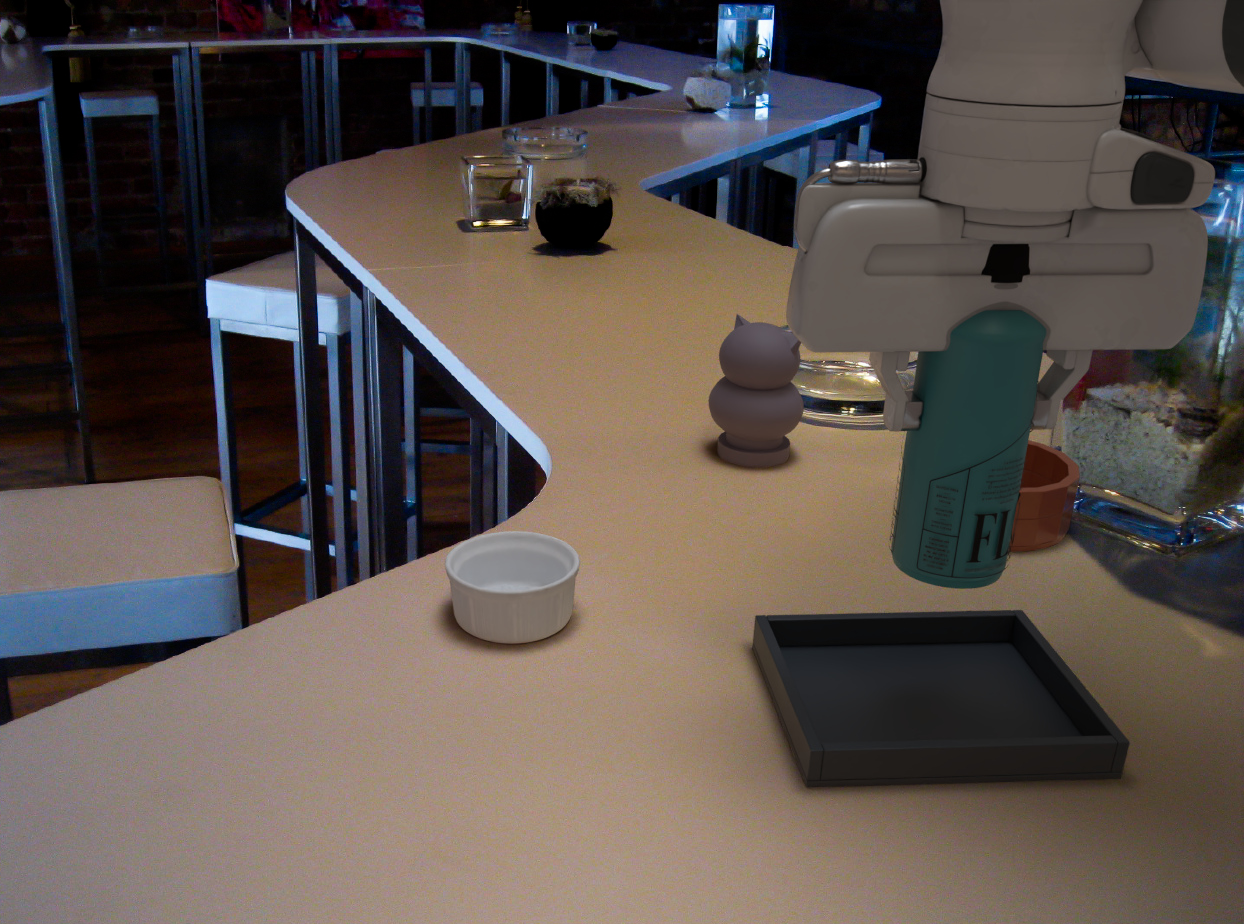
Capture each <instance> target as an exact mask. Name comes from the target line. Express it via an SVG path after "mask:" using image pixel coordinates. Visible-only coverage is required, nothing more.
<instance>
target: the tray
mask: <svg viewBox="0 0 1244 924" xmlns="http://www.w3.org/2000/svg"><path fill="white" fill-rule="evenodd" d="M751 649H752V652H753V654H754V657H755V659H756V662H757V664H758V667H759V669H760V672H761V675H762V677H763V679H764V682H765V685H766V687H767V691H768V692H769V695H770V697H771V700H772V703H773V705H774V708H775V711H776V714H777V716H778V718H779V720H780V723H781V726H782V729H783V732H784V734H785V736H786V738H787V741H788V744H789V746H790V749H791V752H792V755H793V757H794V760H795V762H796V765H797V767H798V769H799V772H800V775H801V777H802V780H803V782H804V785H805V787H806V788H807V789H811V788H843V787H845V788H850V787H882V786H883V787H885V786H917V785H919V786H921V785H950V784H951V785H952V784H953V785H955V784H985V783H991V784H992V783H1020V782H1023V783H1025V782H1026V783H1027V782H1056V781H1058V782H1059V781H1092V780H1093V781H1094V780H1121V779H1122V778H1123V777H1122V776H1123V772H1124V767H1125V764H1126V761H1127V756H1128V753H1129V752H1128V751H1129V748H1130V744H1131V742H1130V740H1129V739H1128V738H1127V736H1126V735H1125V734H1124V733H1123V732H1122V730H1121V729H1120V728H1119V727H1118V726H1117V725H1116V723H1115V722H1114V721H1113V719H1112V718H1111V717H1110V716H1109V714H1108V713H1107V712H1106V711H1105V709H1104V708H1103V707H1102V705H1100V703H1099V702H1098V701H1097V700H1096V698H1095V697H1094V696H1093V694H1091V693H1090V691H1089V690H1088V689H1087V687H1086V686H1085V685H1084V684H1083V683H1082V681H1081V680H1080V679H1079V678H1078V676H1077V675H1076V674H1075V673H1074V672H1073V671H1072V669H1071V668H1070V666H1068V664H1067V663H1066V662H1065V660H1064V659H1063V658H1062V657H1061V656H1060V654H1059V653H1058V651H1056V649H1055V648H1054V647H1053V646H1052V644H1050V642H1049V641H1048V639H1047V638H1046V637H1045V635H1044V634H1042V632H1041V631H1040V630H1039V629H1038V627H1037V626H1036V625H1035V624H1034V622H1033V621H1032V620H1031V619H1030V617H1028V615H1027V614H1026V613H1025V611H1024V610H1022V609H1012V610H1011V609H1001V610H1000V609H999V610H998V609H997V610H995V609H993V610H951V611H949V610H948V611H947V610H946V611H945V610H944V611H903V612H901V611H900V612H855V613H854V612H852V613H849V612H848V613H808V614H807V613H805V614H804V613H803V614H767V615H765V614H758V615H757V614H756V615H755V616H754V625H753V636H752V647H751Z"/></svg>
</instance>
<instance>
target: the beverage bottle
mask: <svg viewBox="0 0 1244 924" xmlns="http://www.w3.org/2000/svg"><path fill="white" fill-rule="evenodd" d="M1029 252H1030V247H1029V244H993V245H992V246H991V247H990V250H989V254H988V257H987V261H986V264H985V267H984V269H983V270H982V273H981V275H988V276H991V283H1020V282H1022V279H1023V276H1025V275H1029V274H1030V268H1029ZM1046 333H1047V332H1046V329H1045V327H1044V326H1043V325H1042V324H1041V323H1040V322H1039V321H1037V320H1036V319H1035V318H1034V317H1032V316H1031V315H1029V314H1028V313H1026V312H1024V311H1022V310H985V311H982V312H980V313H978V314H976V315H974V316H972V317H970V318H969V319H967V320H966V321H964V322H962V323H961V324H960V325H958V326H957V327H956V328H955V329H954V330H952V332H951V334H950V344H949V347H948V349H947V350H946V351H930V352H917V357H916V358H917V359H916V365H915V366H916V367H915V374H914V381H913V387H912V391H913V392H914V394H915V395H916V397H918V398H920V399H921V400H922V401H923V402H924V404H923V411H922V414H921V416H920V417H919V420H920V421H921V424H920V428H919V430H918V431H906V434H905V435H904V434H903V435H902V437H904V436H905V440H904V441H902V443H901V446H900V447H901V452H900V454H902V456H901V457H900V460H902V462H899V463H898V470H899V472H900V473H898V474H897V477H896V481H897V482H896V485H895V486H896V489H895V492H897V493H894V495H895V499H894V502H893V503H896V504H893V509H892V517H891V518H892V520H891V525H890V527H891V528H890V534H891V535H889V543H891V545H888V548H889V551H890V553H891V556H892V557H891V558H892V561H893V563H894V565H895V567H897V569H898V570H899V571H900V572H902V573H903V574H905V575H906V576H908V577H910V578H912V579H914V580H916V581H919V582H922V583H923V584H924V583H925V584H928V585H932V586H935V587H941V588H947V589H959V590H962V589H963V590H970V589H971V590H972V589H979V588H984V587H987V586H990V585H993V584H995V583H996V582H997V581H999V579H1001V577H1002V575H1003V572H1004V571H1005V570H1006V569H1007V568H1008V567H1009V565H1010V563H1009V559H1011V556H1012V554H1009V553H1011V552H1010V551H1011V546H1009V545H1010V540H1012V539H1013V540H1014V535H1015V533H1014V532H1013V537H1012V528H1013V523H1014V517H1015V512H1016V506H1017V503H1018V500H1019V497H1020V496H1021V495H1020V492H1019V490H1021V489H1020V486H1021V485H1022V484H1023V482H1022V484H1021V479H1022V473H1023V474H1024V472H1023V469H1024V463H1025V456H1026V451H1027V445H1028V440H1030V434H1031V432H1033V431H1034V430H1033V429H1034V428H1033V429H1032V430H1030V429H1031V423H1032V424H1033V422H1032V419H1033V418H1032V417H1034V416H1033V412H1034V406H1035V400H1036V398H1037V394H1036V393H1037V392H1038V390H1037V384H1038V385H1039V379H1040V373H1041V367H1042V361H1043V355H1044V350H1043V341H1044V339H1045V337H1046ZM1037 407H1038V406H1037ZM1036 410H1037V409H1036ZM1035 412H1036V411H1035ZM1034 415H1035V414H1034ZM1033 426H1034V424H1033ZM903 443H904V446H903ZM1025 465H1026V464H1025ZM1025 467H1026V466H1025ZM899 475H900V476H899ZM1020 484H1021V485H1020ZM1022 487H1023V486H1022ZM1022 487H1021V488H1022ZM896 500H897V501H896ZM1020 502H1021V501H1020ZM1020 502H1019V504H1018V505H1019V508H1020ZM895 506H896V507H895ZM1018 513H1019V509H1018ZM1017 516H1018V514H1017ZM1017 519H1018V517H1017ZM1017 519H1016V521H1017ZM1016 524H1017V523H1015V526H1016ZM1014 530H1016V528H1014ZM892 531H893V532H892ZM1012 543H1013V541H1011V544H1012ZM890 546H891V547H890ZM1012 546H1013V544H1012ZM1009 548H1010V550H1009ZM1008 551H1009V552H1008ZM1007 563H1008V564H1007Z"/></svg>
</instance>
